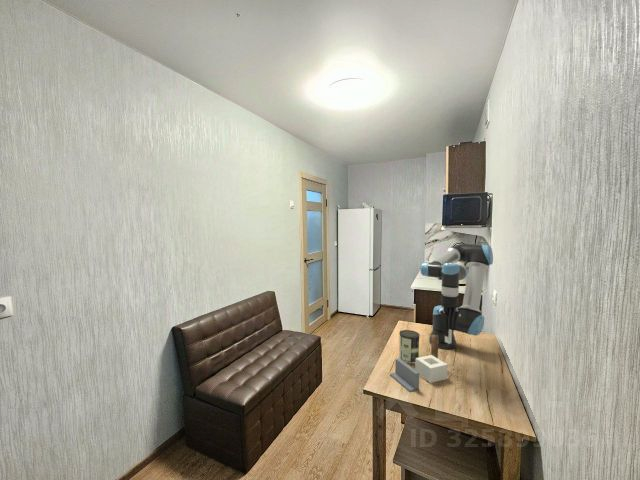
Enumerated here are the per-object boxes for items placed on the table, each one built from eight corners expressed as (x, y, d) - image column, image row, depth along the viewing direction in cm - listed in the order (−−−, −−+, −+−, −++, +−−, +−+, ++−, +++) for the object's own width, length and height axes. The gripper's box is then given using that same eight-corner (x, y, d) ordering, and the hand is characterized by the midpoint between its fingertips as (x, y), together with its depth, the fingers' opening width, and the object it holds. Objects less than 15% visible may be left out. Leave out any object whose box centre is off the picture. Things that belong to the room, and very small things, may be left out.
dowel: (434, 364, 140) (435, 334, 140) (438, 367, 137) (439, 336, 137) (429, 365, 139) (430, 335, 138) (434, 368, 136) (434, 337, 135)
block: (431, 368, 136) (431, 354, 136) (446, 378, 127) (447, 364, 127) (415, 372, 133) (415, 358, 132) (430, 383, 123) (430, 368, 123)
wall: (398, 373, 132) (399, 358, 131) (418, 389, 119) (419, 372, 118) (390, 375, 130) (390, 360, 129) (409, 392, 117) (410, 375, 116)
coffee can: (417, 355, 150) (417, 330, 149) (420, 364, 140) (421, 338, 139) (398, 353, 152) (398, 328, 151) (399, 362, 142) (400, 336, 141)
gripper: (453, 292, 137) (451, 337, 139) (433, 294, 133) (432, 341, 134) (466, 295, 130) (464, 343, 132) (445, 298, 126) (443, 347, 127)
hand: (448, 342), depth 133 cm, fingers closed
